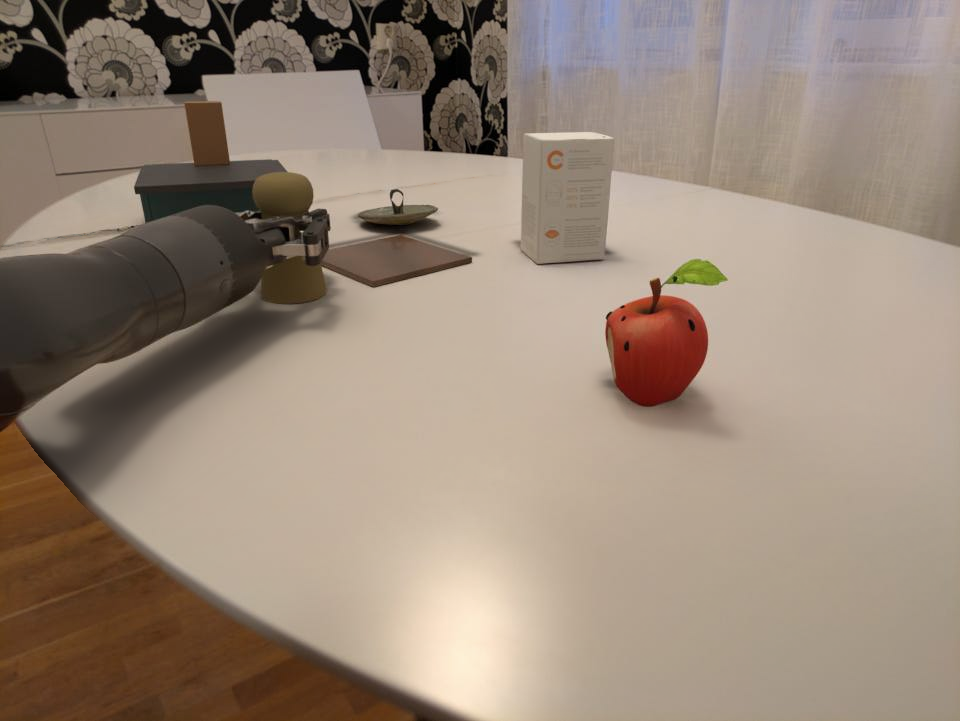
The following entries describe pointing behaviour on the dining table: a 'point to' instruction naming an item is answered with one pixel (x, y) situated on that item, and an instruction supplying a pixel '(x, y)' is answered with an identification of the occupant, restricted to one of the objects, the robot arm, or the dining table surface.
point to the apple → (660, 339)
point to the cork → (293, 275)
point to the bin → (196, 200)
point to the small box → (565, 196)
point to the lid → (397, 213)
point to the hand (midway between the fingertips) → (301, 218)
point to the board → (390, 260)
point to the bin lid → (204, 159)
